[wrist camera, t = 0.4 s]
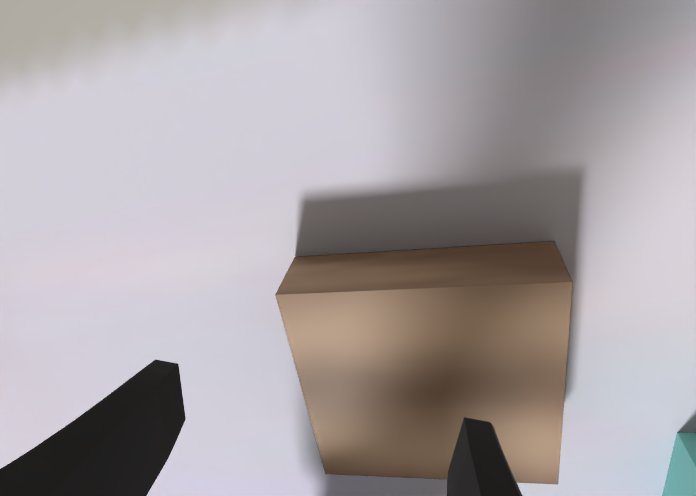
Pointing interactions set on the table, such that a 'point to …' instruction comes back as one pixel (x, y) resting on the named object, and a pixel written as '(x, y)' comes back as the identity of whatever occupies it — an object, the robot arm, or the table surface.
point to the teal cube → (682, 467)
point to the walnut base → (431, 355)
